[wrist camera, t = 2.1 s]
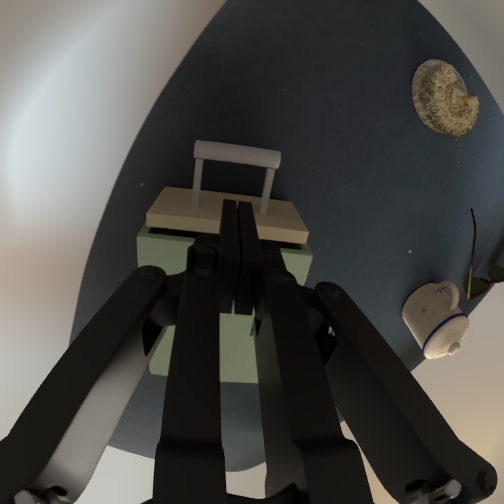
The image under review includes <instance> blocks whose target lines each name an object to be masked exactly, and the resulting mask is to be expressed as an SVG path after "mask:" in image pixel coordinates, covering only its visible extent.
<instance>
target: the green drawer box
mask: <svg viewBox="0 0 504 504" xmlns="http://www.w3.org/2000/svg"><path fill="white" fill-rule="evenodd" d="M160 229H161V228H159V227H149V226H146V222H145V224H144V225H143V227H142V229H141V230H140V232H139V233H138V235H137V258H138V267H141V266H145V265H153V266H158V267H160V268H162V269H163V270H164V271H165V272H166V275H173V274H178V273H181V272H183V271H185V270H186V263H187V249H188V247H189V246H190V245H192V244H194V239H195V238H189V237H179V236H170V235H161V234H158V233H159V231H160ZM288 243H289V245H290V248H291V249H286V248H280V250H281V253H282V256H283V259H284V262H285V266H286V269H287V271H289V272H290V273H292V274H293V275H294V276H295V278H296V280H297V283H298V284H299V285H302V286H304V283H305V280H306V277H307V273H308V270H309V267H310V264H311V261H312V258H313V255H312V253H311V251H310V249H309V247H308V245H307V243H306V244H299V243H291V242H288ZM254 315H255V313H254V308H253V313H252V316H249V315H236V314H234V301H233V307H232V313H231V314H224V313H220V381H222V382H241V383H258V376H257V366H256V355H255V345H254V334H253V335H252V337H250V332H251V328H252V324H253V319H254ZM174 331H175V326H168V327H167V331H166V333H165V334H164V336H163V338H162V340H161V342H160V343H159V345H158V347H157V349H156V351H155V353H154V354H153V356H152V358H151V360H150V362H149V368H150V374H156V375H163V376H168V370H169V363H170V356H171V350H172V343H173V337H174Z"/></svg>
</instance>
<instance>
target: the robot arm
mask: <svg viewBox="0 0 504 504" xmlns="http://www.w3.org/2000/svg"><path fill="white" fill-rule="evenodd" d="M233 301H234V314H236V315H249V316H252V313H253V308H254V313H255V315H254V319H253V324H252V328H251V332H250V337H252V335H253V334H254V345H255V355H256V366H257V376H258V386H259V397H260V407H261V417H262V427H263V437H264V447H265V457H266V465H267V474H266V479H265V497H266V498H264V499H255V498H249V497H244V496H239V495H234V494H229V493H227V492H226V474H225V457H224V450H223V447H222V440H221V405H220V313H224V314H231V313H232V307H233ZM168 326H175V331H174V337H173V343H172V350H171V356H170V363H169V370H168V377H167V385H166V393H165V401H164V409H163V418H162V428H161V437H160V441H159V442H158V444H157V448H156V455H155V467H154V479H153V497H152V499H149V500H147V501H145V502H143V503H141V504H375V503H374V502H373V498H372V494H371V490H370V486H369V483H368V479H367V475H366V471H365V468H364V464H363V460H362V457H361V453H360V451H359V448H358V446H357V444H356V443H355V442H354V441H353V440H349V439H346V438H345V437H344V435H343V433H342V430H341V426H340V422H339V419H338V415H337V411H336V408H335V404H336V406H337V408H338V409H339V411H340V413H341V415H342V417H343V418H344V420H345V422H346V424H347V425H348V427H349V429H350V431H351V432H352V434H353V436H354V437H355V439H356V441H357V443H358V445H359V446H360V448H361V450H362V452H363V453H364V455H365V457H366V459H367V460H368V462H369V464H370V466H371V467H372V469H373V471H374V472H375V474H376V476H377V478H378V479H379V481H380V482H381V484H382V485H383V487H384V488H385V489H386V491H387V492H388V493H389V494H390V495H391V496H392V497H393V498H394V499H395V500H396V501H397V502H398V503H399V504H476V503H478V502H480V501H482V500H484V499H486V498H488V497H489V496H490V495H492V494H493V492H494V490H495V489H496V485H497V473H496V471H495V468H494V467H493V466H492V465H491V464H490V463H489V462H487V461H486V460H485V459H483V458H482V457H481V456H479V455H478V454H477V453H476V452H474V451H473V450H472V449H471V448H469V447H468V446H467V445H465V444H464V443H463V442H462V441H460V440H459V439H458V438H457V436H456V435H455V433H454V432H453V430H452V429H451V427H450V426H449V425H448V423H447V422H446V420H445V419H444V418H443V416H442V415H441V414H440V412H439V411H438V409H437V408H436V406H435V405H434V404H433V402H432V401H431V400H430V398H429V397H428V395H427V394H426V393H425V392H424V390H423V389H422V387H421V386H420V385H419V384H418V382H417V381H416V379H415V378H414V377H413V375H412V374H411V373H410V371H409V370H408V369H407V368H406V366H405V365H404V364H403V362H402V361H401V360H400V358H399V357H398V356H397V355H396V353H395V352H394V351H393V350H392V348H391V347H390V346H389V344H388V343H387V342H386V341H385V339H384V338H383V337H382V336H381V334H380V333H379V332H378V331H377V329H376V328H375V327H374V326H373V324H372V323H371V322H370V321H369V320H368V318H367V317H366V316H365V315H364V313H363V312H362V311H361V310H360V309H359V307H358V306H357V305H356V304H355V303H354V301H353V300H352V299H351V298H350V297H349V295H348V294H347V293H346V292H345V291H344V290H343V289H342V288H341V287H340V286H338V285H336V284H335V283H331V282H320V283H318V284H317V285H316V286H315V289H311V288H308V287H304V286H302V285H299V284H298V283H297V280H296V278H295V276H294V275H293V274H292V273H290V272H289V271H287V269H286V266H285V262H284V259H283V256H282V253H281V250H280V247H279V246H278V245H277V244H276V243H275V242H274V241H270V240H262V239H259V236H258V231H257V227H256V222H255V217H254V212H253V207H252V203H251V202H246V201H238V207H237V201H236V200H230V199H223V205H222V213H221V220H220V228H219V235H211V234H202V233H200V234H199V235H198V236H196V237H195V239H194V244H192V245H190V246H189V247H188V249H187V263H186V270H185V271H183V272H181V273H178V274H173V275H166V272H165V271H164V270H163V269H162V268H160V267H158V266H153V265H145V266H141V267H138V268H137V269H135V270H134V271H133V272H132V273H131V274H130V275H129V276H128V277H127V279H126V280H125V281H124V282H123V283H122V284H121V285H120V286H119V288H118V289H117V290H116V291H115V292H114V293H113V294H112V296H111V297H110V298H109V299H108V300H107V301H106V302H105V304H104V305H103V306H102V307H101V308H100V310H99V311H98V312H97V313H96V314H95V315H94V317H93V318H92V319H91V320H90V322H89V323H88V324H87V325H86V326H85V328H84V329H83V330H82V331H81V333H80V334H79V335H78V336H77V338H76V339H75V340H74V341H73V343H72V344H71V345H70V346H69V348H68V349H67V350H66V352H65V353H64V354H63V356H62V357H61V358H60V360H59V361H58V362H57V364H56V365H55V366H54V368H53V369H52V370H51V372H50V373H49V374H48V376H47V377H46V379H45V380H44V381H43V383H42V384H41V385H40V387H39V388H38V390H37V391H36V393H35V394H34V395H33V397H32V398H31V400H30V401H29V403H28V404H27V406H26V407H25V409H24V410H23V412H22V413H21V415H20V416H19V418H18V420H17V421H16V423H15V424H14V426H13V428H12V429H11V431H10V433H9V434H8V436H7V437H5V438H4V439H2V440H1V441H0V504H73V503H74V502H75V501H76V500H77V499H78V498H79V497H80V495H81V494H82V493H83V491H84V490H85V488H86V486H87V485H88V483H89V481H90V479H91V477H92V475H93V473H94V471H95V468H96V466H97V464H98V462H99V460H100V458H101V456H102V454H103V452H104V450H105V448H106V446H107V444H108V441H109V439H110V437H111V435H112V433H113V431H114V429H115V427H116V425H117V423H118V421H119V419H120V417H121V415H122V413H123V411H124V410H125V408H126V406H127V404H128V402H129V400H130V398H131V396H132V394H133V392H134V390H135V388H136V386H137V384H138V383H139V381H140V379H141V377H142V375H143V373H144V371H145V369H146V367H147V366H148V364H149V362H150V360H151V358H152V356H153V354H154V353H155V351H156V349H157V347H158V345H159V343H160V342H161V340H162V338H163V336H164V334H165V333H166V331H167V327H168ZM331 330H333V332H334V333H335V336H333V335H332V334H331ZM334 402H335V404H334Z"/></svg>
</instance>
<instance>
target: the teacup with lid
mask: <svg viewBox="0 0 504 504" xmlns="http://www.w3.org/2000/svg"><path fill="white" fill-rule="evenodd" d="M444 286H446V287H447V288H449V289H450V291H451V293H452V299H451V298H450V297H449V296H448V294H447V293H446V292H445V291H444V290H443V288H444ZM458 301H459V292H458V289H457V287H456V286H455V285H454V284H453V283H452V282H450V281H443V282H441V283H439V285H438V284H436V283H429V284H426V285H423V286H421V287H420V288H418V289H417V290H416V291H415V292H413V293H412V294H411V296H410V297H409V298H408V299H407V301H406V303H405V304H404V307H403V310H402V317H403V319H404V321H405V323H406V324H407V326H408V327H409V329H410V331H411V332H412V334H413V335H414V337H415V339H416V340H417V342H418V344H419V345H420V347H421V349H422V353H423V355H424V356H425V357H426V358H429V359H436V358H440V357H442V356H444V355H446V354H448V353H450V355H454V354H456V353H457V352H458V351H459V350H460V345H459V344H460V342H461V341H462V339H463V338H464V336H465V335H466V333H467V331H468V328H469V320H468V317H467V315H466V314H464V313H462V311H461V310H460V309H459V308H458V306H457V304H458Z"/></svg>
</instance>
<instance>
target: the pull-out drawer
mask: <svg viewBox="0 0 504 504" xmlns="http://www.w3.org/2000/svg"><path fill="white" fill-rule="evenodd" d="M194 158H196V164H195V173H194V182H193V189H184V188H174V187H165V188H164V189H163V190H162V192H161V193H160V195H159V196H158V197H157V199H156V200H155V202H154V203H153V205H152V206H151V208H150V209H149V210H148V212H147V214H146V226H149V227H159V228H161V229H160V231H159V233H158V234H161V235H170V236H179V237H189V238H195V237H196V236H198V235H199V234H200V233H202V234H211V235H219V228H220V220H221V213H222V205H223V199H230V200H236V201H237V207H238V201H246V202H251V203H252V207H253V212H254V217H255V222H256V227H257V231H258V236H259V239H262V240H270V241H274V242H275V243H276V244H277V245H278V246H279V247H280V248H286V249H291V248H290V245H289V243H288V242H291V243H299V244H306V241H307V237H308V233H309V232H308V230H307V228H306V226H305V224H304V223H303V221H302V219H301V217H300V216H299V214H298V212H297V210H296V209H295V207H294V205H293V204H292V202H287V201H281V200H274V199H269V197H270V192H271V187H272V182H273V177H274V172H275V168H276V169H277V168H278V167H279V164H280V159H281V153H280V152H279V151H274V150H268V149H262V148H256V147H249V146H242V145H235V144H227V143H219V142H210V141H200V140H196V143H195V148H194ZM204 159H211V160H219V161H227V162H235V163H243V164H250V165H257V166H263V167H267V172H266V177H265V182H264V187H263V193H262V198H260V197H253V196H245V195H237V194H229V193H221V192H212V191H204V190H200V186H201V178H202V169H203V161H204Z"/></svg>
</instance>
